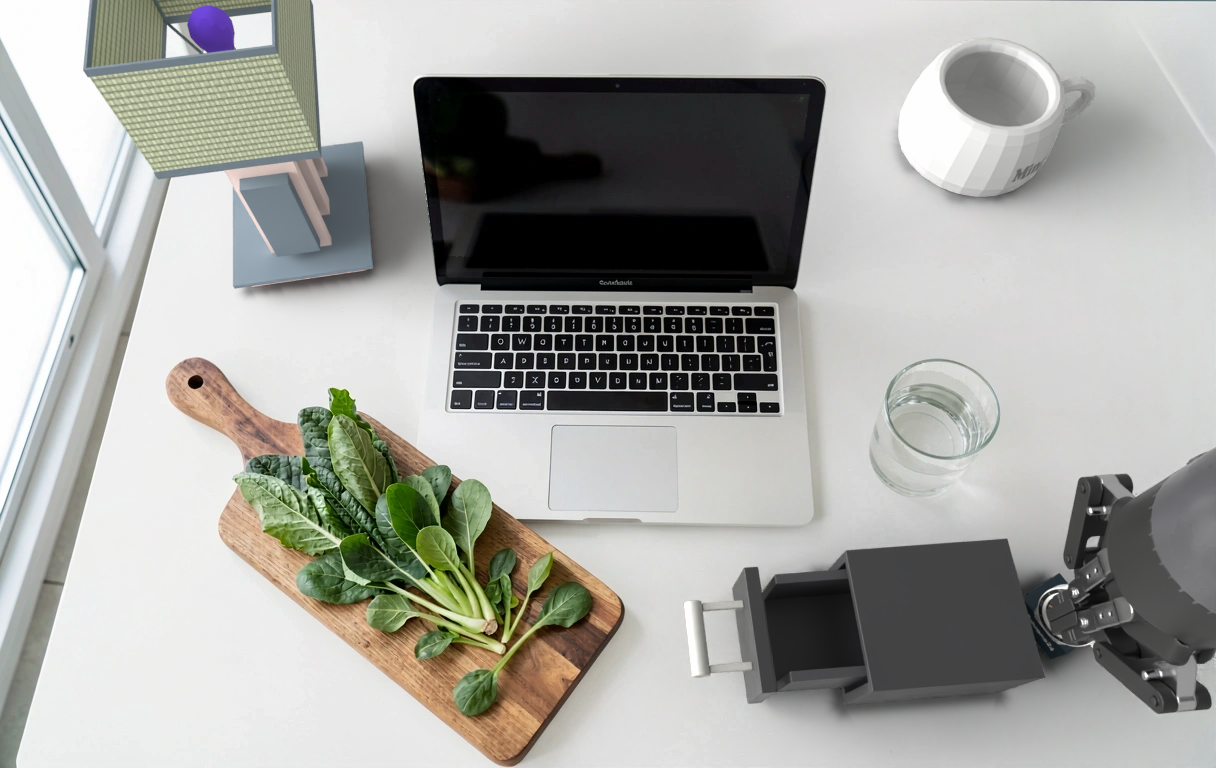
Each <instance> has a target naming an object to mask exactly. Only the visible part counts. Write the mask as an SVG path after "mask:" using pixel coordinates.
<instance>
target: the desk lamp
mask: <svg viewBox="0 0 1216 768" xmlns="http://www.w3.org/2000/svg"><path fill="white" fill-rule="evenodd" d="M266 13H270V14H271V16H270V17H271V40H272V41H271V44H269V45H261V46H252V47H245V48H236V46H235V34H236V33H235V27H234V24H233V19H231V18H232V17H240V16H241V17H242V16H249V15H257V14H266ZM314 14H315V13H314V4H313V2H312V0H89V1H88V14H87V24H86V35H85V45H84V47H85V48H84V56H83V67H82V71H83V73H84V74H85V76H86V77H87V78H89V79H90V80H91V82H92V83H93V85H94V86H95V88H96V89H97V91H98V92H99V94H100V95H101V97H102V98H103V99H104V101H105V102H106V104H107V105H108V106H109V108H110V110H111V111H112V112H113V114H114V116H115V117H116V118H117V120H118V121H119V123H120V124H121V125H122V127H123V128H124V130H125V132H126V133H127V134H128V136H129V137H130V139H131V141H133V143H134V144H135V146H136V147H137V149H138V151H139V152H140V153H141V155H142V156H143V158H144V159H145V161H146V162H147V163H148V165H149V166H150V167H151V169H152V171H153V174H154V176H155V177H156V178H157V180H158V181H159V180H165V179H173V178H179V177H187V176H195V175H202V174H203V175H204V174H209V173H218V172H224V173H225V175H226V177H227V178H228V180H229V181H230V183H231V185H232V287H233V288H234V290H235V289H241V288H243V289H244V288H250V287H251V288H255V287H262V286H266V285H267V286H268V285H269V286H270V285H275V284H283V283H288V282H289V283H291V282H295V281H302V280H309V279H317V278H324V277H330V276H337V275H338V276H339V275H343V274H351V273H357V272H358V273H359V272H365V271H368V270H373V269H374V261H373V249H372V248H373V247H372V236H371V235H372V234H371V224H370V212H369V211H370V210H369V199H368V188H367V176H366V175H367V174H366V164H365V163H366V162H365V151H364V149H365V148H364V143H363V141H362V140H361V141H353V142H346V143H339V144H332V145H324V146H322V140H321V137H322V136H321V124H320V123H321V122H320V120H321V118H320V104H319V101H320V100H319V86H318V84H319V83H318V69H317V68H318V67H317V52H316V51H317V50H316V33H315V32H316V31H315V15H314ZM183 23H186V25H187V26H186V27H187V29H188V33H189V37H190V39H191V40H192V41H190V40H189V39H188V38H187V37H186V36H185V35H183V33H181V32H180V31H179V30H178V29H177V28H176V27H174V26H173V24H174V25H175V24H183ZM168 27H169V29H171V30H172V31H173V32H174V33H175V34H177V35H178V36H179V37H180V38H181V39H182V40H183V41H185V42H186V43H187V44H188V45H189V46H190V47H191V48H193V49H194V51H196V52H197V53H195V54H188V55H187V54H186V55H180V56H171V57H167V37H168ZM193 42H194V43H195V44H196V45H197V46H196V45H195V44H194V43H193ZM199 48H200V49H199ZM202 50H203V51H204V52H203V51H202Z"/></svg>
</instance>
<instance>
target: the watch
mask: <svg viewBox="0 0 1216 768" xmlns="http://www.w3.org/2000/svg"><path fill="white" fill-rule="evenodd" d="M1068 584H1069V583H1068V581H1067V580H1066V579H1065V577H1064V576H1063V575H1062V574H1061V573H1060V572H1059V573H1057V574H1054V575H1052V576H1051V577H1049V578H1048V579H1045V580H1044V581H1042V582H1041V583H1039V584H1038V585H1036V586H1035V587H1033V588H1032V589H1030V590H1029V591H1027V592H1025V593H1024V594H1023V597H1024V601H1025V605H1026V608H1027V612H1028V615H1029V619H1030V623H1031V626H1032V630H1033V634H1034V637H1035V641H1036V645H1037V646H1039V648H1040V649H1041V650H1042V651H1043V653H1044V654H1045V656H1046V657H1047V658H1048V660H1050V661H1051V660H1054V659H1057V658H1060V657H1063V656H1066V655H1068V654H1069V653H1071V652H1072V651H1074V650H1075V649H1077V648H1079V647H1080V648H1081V647H1087V646H1090V647H1091V648H1092V649H1093V644H1094V643H1095V640H1094V641H1092V642H1082V643H1070V644H1068V643H1065V642H1063V639H1062V636H1061V635H1052V631H1051V628H1050V624H1049V621H1048V618H1047V614H1046V610H1048V609H1050V608H1052V607H1053V606H1052V603H1051V600H1052V598H1053V596H1054V595H1056V594H1058V593H1060V592H1062V591H1064V590H1066V589H1068Z"/></svg>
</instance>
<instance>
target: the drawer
mask: <svg viewBox="0 0 1216 768" xmlns="http://www.w3.org/2000/svg"><path fill="white" fill-rule="evenodd" d="M827 570H828V569H827ZM827 570H816V571H802V572H789V573H776V574H774V575H773V576H772V577H771V579H770V580H769V582H768V583H767V585H766V586H765V587H764V589H763V590H762V585H761V578H760V570H759V566H747V567H743V569H742V570H741V572H740V574H739V576H738V577H737V579H736V581H735V583H734V584H733V586H732V587H731V591H732V597H733V600H727V601H715V602H702V600H699V599H695V600H693V599H692V600H687V601H685V602H683V609H684V617H685V626H686V635H687V645H688V653H689V654H688V655H689V661H690V663H689V664H690V672H691V678H694V679H700V678H701V679H702V678H708V677H710V676H711V674H721V673H723V674H724V673H735V672H743V678H744V686H745V694H746V701H747V704H748V705H752V704H762V703H763V702H764V701H766V700H767V699H769V698H770V697H772V696H773V695H775V694H776V693H789V692H801V691H803V692H804V691H814V690H815V691H816V690H828V689H839V688H840V689H841V687H853V686H862V685H864V684H866V683H868V678H867V673H866V668H865V663H864V658H863V652H862V647H861V642H860V637H859V632H858V626H857V621H856V616H855V611H854V606H853V600H852V595H851V590H850V585H849V580H848V574H847V569H841V570H828V571H827ZM731 610H734V612H735V620H736V626H737V627H736V628H737V634H738V641H739V649H740V650H739V651H740V657H741V662H733V663H719V664H710V661H709V659H710V658H709V652H708V650H709V649H708V643H707V635H706V627H705V626H706V625H705V617H704V612H717V611H731Z"/></svg>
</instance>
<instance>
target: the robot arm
mask: <svg viewBox="0 0 1216 768" xmlns="http://www.w3.org/2000/svg"><path fill="white" fill-rule="evenodd" d="M1133 492H1134V482H1133V479H1132V477H1131V475H1129V474H1128V473H1116V474H1115V473H1114V474H1113V473H1110V474H1107V473H1106V474H1097V475H1096V474H1095V475H1091V476H1081V477H1079V478H1078V480H1077V484H1076V489H1075V494H1074V498H1073V503H1072V509H1071V514H1070V519H1069V522H1068V523H1069V524H1068V529H1067V533H1066V539H1065V543H1064V548H1063V552H1062V558H1063V563H1064V566H1065V567H1066V568H1067V569H1068V570H1070V571H1071V570H1072V571H1073V573H1074V578H1073V580H1071V581H1070V582H1069V583H1068V589H1066V590H1064V591H1062V592H1060V593H1058V594H1056V595H1054V596H1053V598H1052V600H1051V603H1052V606H1053V607H1052V608H1050V609H1048V610H1046V614H1047V618H1048V621H1049V624H1050V628H1051V631H1052V635H1061V636H1062V639H1063V642H1065V643H1068V644H1070V643H1082V642H1092V641H1094V640H1095V643H1094V644H1093V648H1092V654H1093V657H1094V659H1095V661H1096V662H1097V664H1098V665H1100V666H1101V667H1102V668H1103V669H1104V670H1106V671H1107V672H1108V673H1109V674H1110V675H1111V676H1113V677H1114V678H1115V679H1116V680H1117V681H1118V682H1119V683H1121V685H1123V686H1124V687H1125V688H1126V689H1128V690H1129V691H1130V692H1131V693H1132V694H1133V695H1134V696H1135V697H1136V698H1138V699H1139V700H1140V701H1141V702H1142V703H1144V704H1145V705H1146V707H1148V708H1150V710H1152V711H1153V712H1154V713H1156V714H1157V715H1163V714H1173V713H1185V712H1195V711H1206V710H1210V709H1211V708H1212V704H1213V703H1212V701H1213V699H1212V696H1211V693H1210V691H1209V690H1208V688H1207V687H1206V686H1205V685H1204V684H1203V683H1201V682H1200V681H1199V680H1197V676H1198V665H1203V664H1206V663H1209V662H1210V661H1211V660H1212V659H1213V658H1214V656H1215V654H1216V447H1214V448H1211V449H1210V450H1207V451H1205V452H1202V453H1200V454H1198V455H1196V456H1194V457H1191V458H1190V459H1189V460H1188V461H1187V463H1186V464H1185V465H1183V467H1181V468H1180V469H1178V470H1176V471H1174V472H1173V473H1172V474H1169V475H1168V476H1166V477H1165V478H1163V479H1162V480H1161V481H1159V482H1157V483H1156V484H1154V485H1152V486H1151V487H1149V488H1148V489H1145V490H1144V491H1143V492H1141V493H1140V494H1138V495H1137V496H1135V495H1134V493H1133ZM1093 537H1098V542H1097V545H1096V546H1087V545H1088V541H1089V540H1090V539H1091V538H1093Z"/></svg>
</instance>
